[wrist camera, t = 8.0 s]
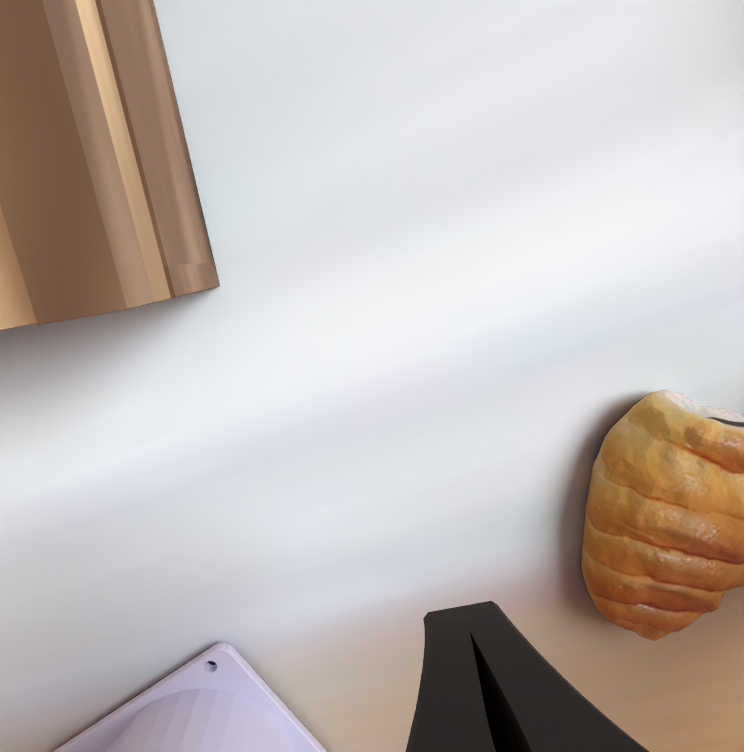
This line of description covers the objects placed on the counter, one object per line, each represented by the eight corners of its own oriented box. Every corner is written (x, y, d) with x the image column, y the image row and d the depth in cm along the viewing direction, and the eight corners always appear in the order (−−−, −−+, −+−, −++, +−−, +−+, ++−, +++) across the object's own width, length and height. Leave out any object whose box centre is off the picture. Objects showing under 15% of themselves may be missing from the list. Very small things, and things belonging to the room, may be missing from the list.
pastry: (686, 623, 23) (751, 694, 19) (535, 590, 22) (572, 657, 19) (775, 415, 21) (866, 449, 17) (613, 373, 20) (670, 400, 17)
